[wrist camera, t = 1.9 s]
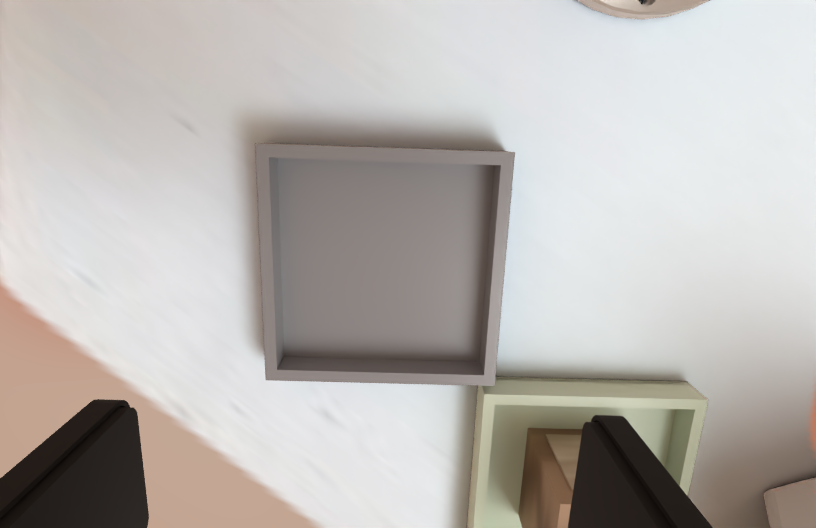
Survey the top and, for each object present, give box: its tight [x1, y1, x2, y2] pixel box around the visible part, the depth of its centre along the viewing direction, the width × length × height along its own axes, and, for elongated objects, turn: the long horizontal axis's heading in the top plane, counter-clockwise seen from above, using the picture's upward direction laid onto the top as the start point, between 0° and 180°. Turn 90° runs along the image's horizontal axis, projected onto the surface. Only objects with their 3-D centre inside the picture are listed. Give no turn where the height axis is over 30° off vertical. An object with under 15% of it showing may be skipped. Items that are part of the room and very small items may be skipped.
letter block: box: [518, 428, 582, 528], centre depth 26 cm, size 6×6×6 cm
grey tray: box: [255, 143, 515, 386], centre depth 25 cm, size 12×12×2 cm
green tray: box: [467, 377, 708, 528], centre depth 28 cm, size 12×12×2 cm
